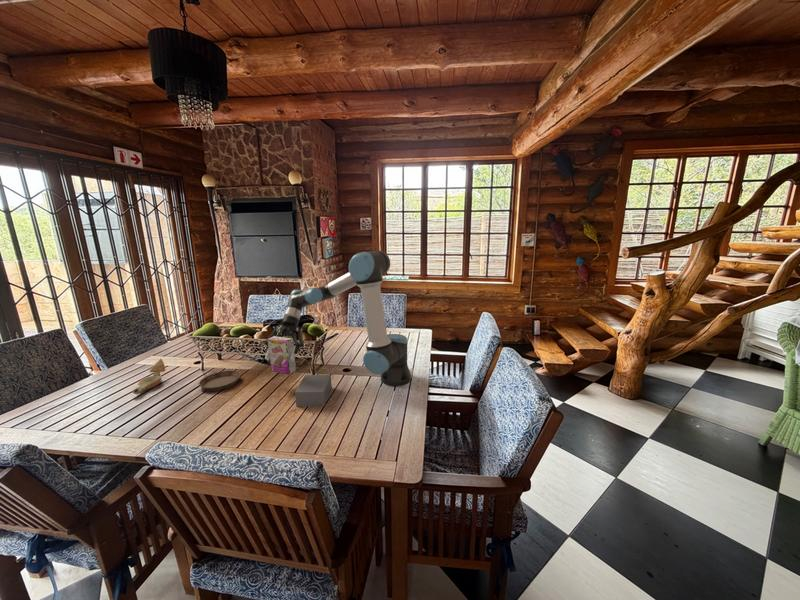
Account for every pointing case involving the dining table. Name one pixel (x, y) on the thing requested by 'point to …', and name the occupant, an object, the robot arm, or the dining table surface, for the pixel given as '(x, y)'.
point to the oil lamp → (151, 378)
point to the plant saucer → (219, 380)
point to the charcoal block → (313, 390)
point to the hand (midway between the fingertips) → (279, 359)
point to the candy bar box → (281, 355)
